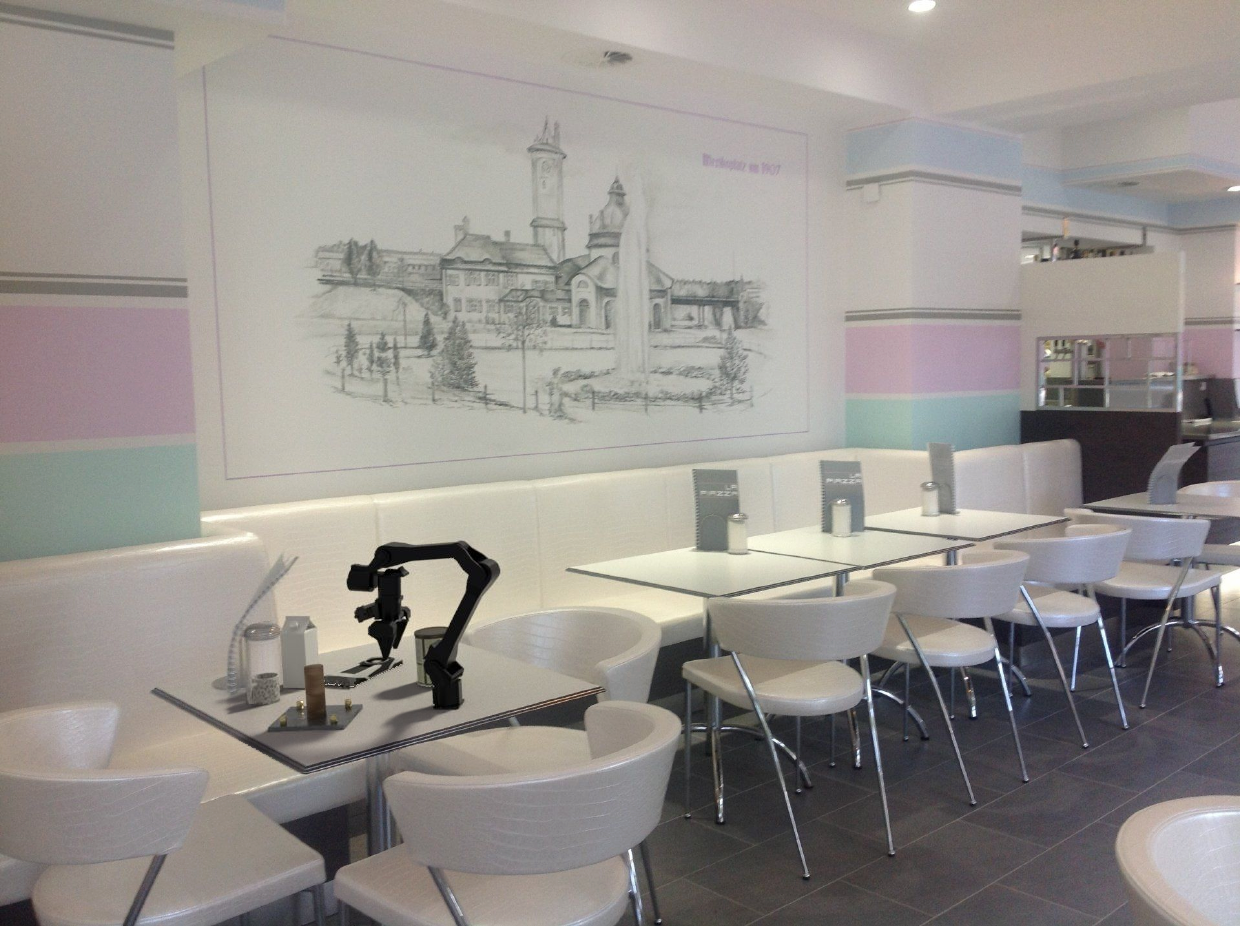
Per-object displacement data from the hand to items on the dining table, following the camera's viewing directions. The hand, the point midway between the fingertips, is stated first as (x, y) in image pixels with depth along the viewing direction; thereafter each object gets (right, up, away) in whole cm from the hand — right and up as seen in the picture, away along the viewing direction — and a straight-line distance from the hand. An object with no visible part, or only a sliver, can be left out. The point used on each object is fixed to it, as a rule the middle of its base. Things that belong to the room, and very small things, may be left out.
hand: (390, 654), depth 265 cm
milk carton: (-29, -13, +22) cm, 38 cm away
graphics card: (-13, -12, +29) cm, 34 cm away
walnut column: (-16, -13, -10) cm, 23 cm away
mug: (-34, -14, +6) cm, 37 cm away
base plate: (-16, -14, -10) cm, 23 cm away
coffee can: (+8, -11, +19) cm, 23 cm away
